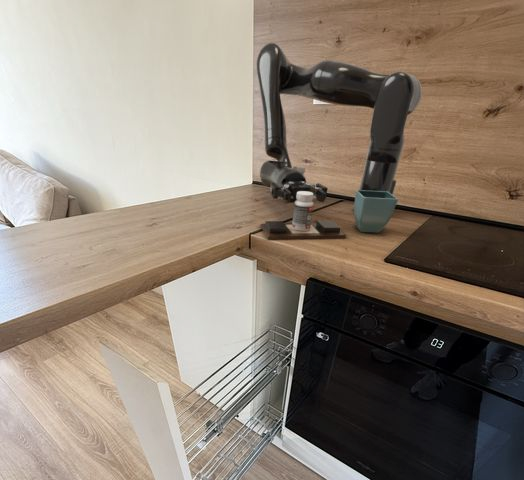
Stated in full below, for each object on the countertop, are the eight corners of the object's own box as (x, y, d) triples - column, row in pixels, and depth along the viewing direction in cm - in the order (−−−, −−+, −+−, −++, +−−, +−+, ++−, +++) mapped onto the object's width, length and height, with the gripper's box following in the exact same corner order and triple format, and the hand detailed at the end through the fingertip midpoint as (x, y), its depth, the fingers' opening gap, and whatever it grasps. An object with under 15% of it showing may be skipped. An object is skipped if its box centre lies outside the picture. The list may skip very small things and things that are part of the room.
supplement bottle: (284, 197, 106) (289, 165, 102) (298, 199, 108) (304, 168, 103) (289, 198, 102) (294, 165, 97) (303, 201, 103) (309, 168, 99)
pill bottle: (309, 232, 76) (314, 195, 71) (290, 230, 77) (294, 194, 72) (310, 226, 80) (315, 191, 75) (292, 224, 80) (296, 190, 75)
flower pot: (348, 224, 86) (355, 189, 81) (378, 226, 86) (388, 191, 81) (354, 234, 79) (363, 196, 74) (387, 236, 79) (399, 199, 74)
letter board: (331, 225, 84) (332, 218, 83) (345, 238, 77) (346, 230, 76) (260, 226, 81) (260, 218, 80) (268, 239, 73) (268, 231, 72)
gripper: (265, 168, 82) (279, 179, 70) (315, 169, 85) (337, 180, 72) (264, 198, 87) (276, 214, 75) (311, 198, 90) (331, 213, 77)
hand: (306, 197), depth 74 cm, fingers open, 8 cm apart
